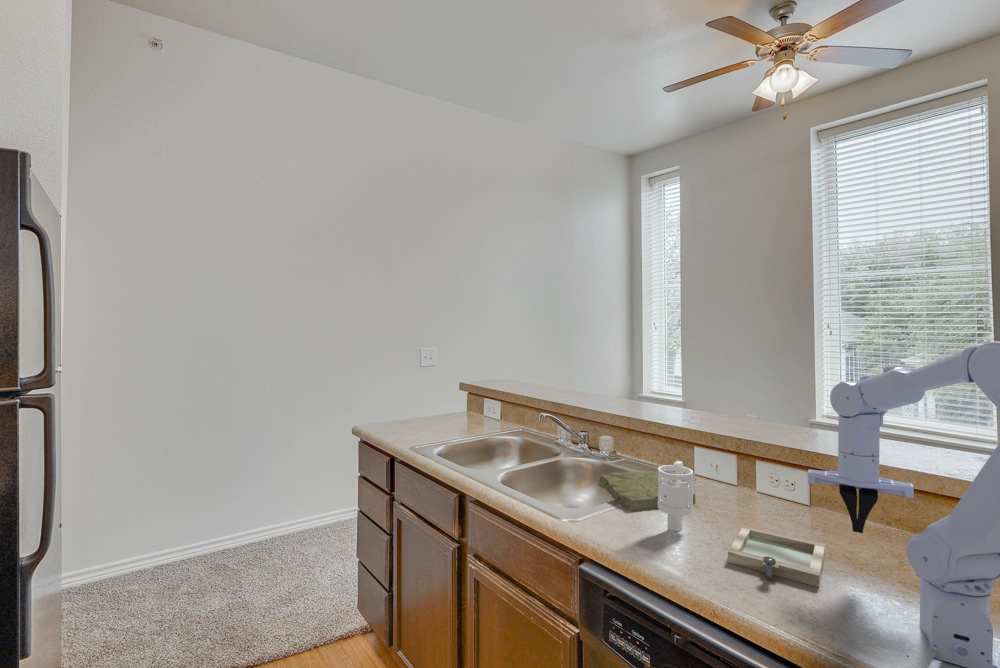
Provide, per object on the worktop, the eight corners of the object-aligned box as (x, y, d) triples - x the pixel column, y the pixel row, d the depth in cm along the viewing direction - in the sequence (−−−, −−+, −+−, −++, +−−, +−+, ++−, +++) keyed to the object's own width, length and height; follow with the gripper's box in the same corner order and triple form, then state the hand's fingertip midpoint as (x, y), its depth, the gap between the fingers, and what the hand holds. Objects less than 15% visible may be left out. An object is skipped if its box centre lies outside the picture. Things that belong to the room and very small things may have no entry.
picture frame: (818, 590, 80) (818, 578, 80) (726, 564, 88) (726, 553, 88) (825, 554, 92) (825, 544, 92) (743, 535, 100) (743, 525, 100)
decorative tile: (651, 479, 141) (651, 467, 141) (696, 505, 121) (696, 491, 121) (592, 486, 136) (592, 473, 136) (629, 513, 116) (629, 499, 116)
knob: (774, 591, 82) (774, 562, 82) (762, 588, 83) (762, 559, 83) (775, 586, 84) (776, 558, 83) (763, 583, 85) (764, 555, 85)
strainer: (696, 532, 105) (697, 463, 104) (687, 544, 99) (687, 471, 99) (663, 524, 109) (663, 457, 109) (653, 535, 103) (653, 465, 103)
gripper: (909, 453, 83) (908, 531, 83) (809, 441, 91) (808, 513, 92) (916, 463, 77) (914, 547, 78) (807, 450, 85) (807, 527, 86)
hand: (857, 530), depth 84 cm, fingers closed
